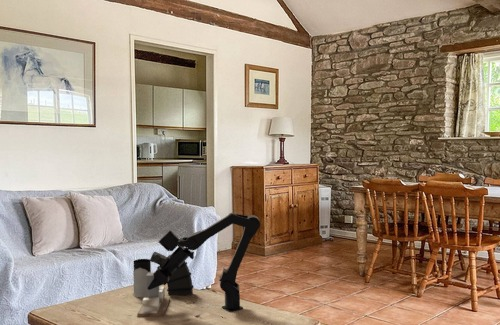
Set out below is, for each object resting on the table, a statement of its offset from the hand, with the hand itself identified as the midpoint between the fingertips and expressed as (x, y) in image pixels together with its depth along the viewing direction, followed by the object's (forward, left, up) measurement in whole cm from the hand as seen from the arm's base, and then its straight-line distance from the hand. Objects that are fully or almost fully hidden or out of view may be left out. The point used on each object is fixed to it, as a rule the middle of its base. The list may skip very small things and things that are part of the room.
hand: (149, 286), depth 195 cm
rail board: (+2, -3, -10) cm, 10 cm away
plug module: (-1, -1, -8) cm, 8 cm away
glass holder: (+25, -8, -10) cm, 28 cm away
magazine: (+13, -19, -10) cm, 25 cm away
